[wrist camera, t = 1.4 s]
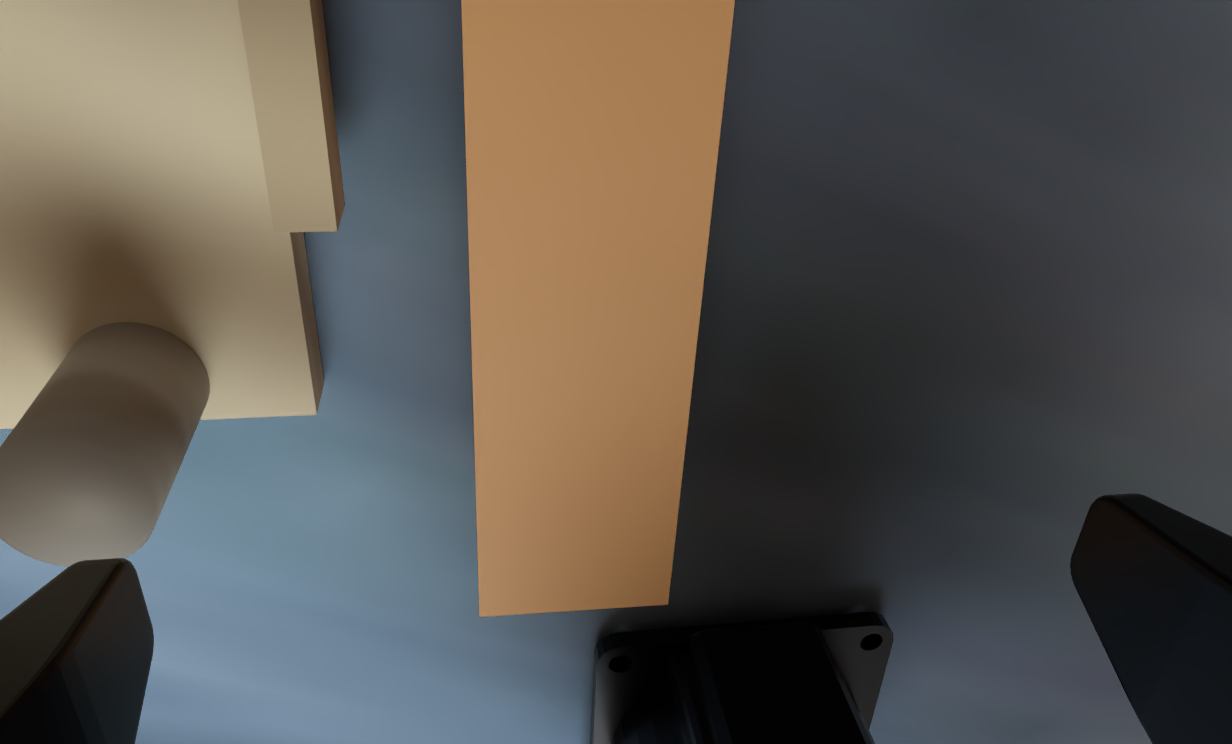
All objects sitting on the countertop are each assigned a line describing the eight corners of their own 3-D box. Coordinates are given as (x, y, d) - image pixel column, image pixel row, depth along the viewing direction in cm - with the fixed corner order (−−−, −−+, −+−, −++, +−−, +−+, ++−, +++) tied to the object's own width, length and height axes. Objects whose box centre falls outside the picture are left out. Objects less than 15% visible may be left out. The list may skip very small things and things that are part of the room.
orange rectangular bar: (633, 473, 18) (668, 604, 15) (476, 481, 17) (479, 616, 14) (678, -109, 13) (744, -87, 10) (458, -120, 12) (458, -101, 9)
